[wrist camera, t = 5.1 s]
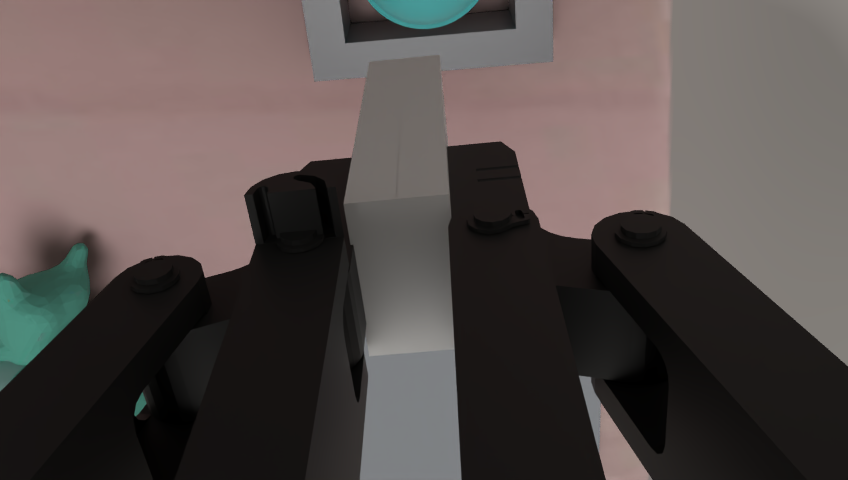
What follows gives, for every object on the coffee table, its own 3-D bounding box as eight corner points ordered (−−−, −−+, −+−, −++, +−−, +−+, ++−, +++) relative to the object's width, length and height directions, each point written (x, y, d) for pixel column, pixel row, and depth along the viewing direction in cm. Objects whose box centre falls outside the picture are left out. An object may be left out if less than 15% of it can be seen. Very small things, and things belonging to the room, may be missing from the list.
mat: (258, 272, 42) (257, 275, 42) (604, 246, 42) (605, 249, 41) (311, 512, 51) (310, 515, 51) (596, 494, 51) (597, 497, 50)
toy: (-117, 266, 36) (-68, 531, 42) (33, 337, 32) (65, 621, 37) (74, 206, 44) (93, 434, 50) (214, 257, 40) (217, 499, 45)
